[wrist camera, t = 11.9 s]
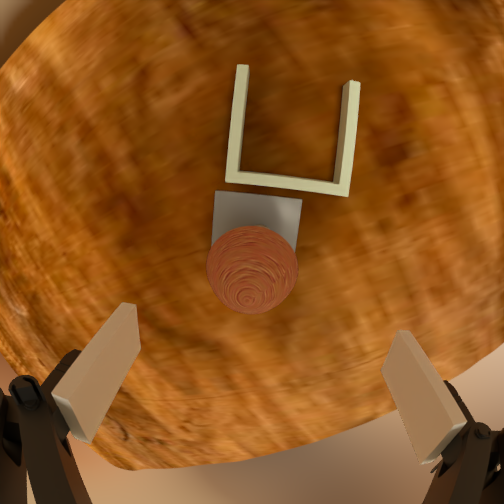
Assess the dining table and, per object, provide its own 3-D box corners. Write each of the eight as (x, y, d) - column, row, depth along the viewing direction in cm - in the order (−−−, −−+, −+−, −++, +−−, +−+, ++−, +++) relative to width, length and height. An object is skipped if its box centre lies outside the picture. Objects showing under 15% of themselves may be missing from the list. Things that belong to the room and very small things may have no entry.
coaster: (216, 189, 34) (215, 190, 33) (301, 198, 34) (302, 199, 33) (211, 269, 37) (210, 271, 36) (289, 277, 37) (290, 279, 36)
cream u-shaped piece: (239, 71, 29) (237, 64, 26) (352, 87, 29) (360, 82, 26) (228, 179, 33) (225, 182, 30) (341, 193, 33) (348, 196, 30)
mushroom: (225, 268, 36) (200, 343, 22) (220, 204, 33) (184, 247, 19) (291, 266, 36) (302, 342, 22) (289, 201, 33) (305, 243, 19)
